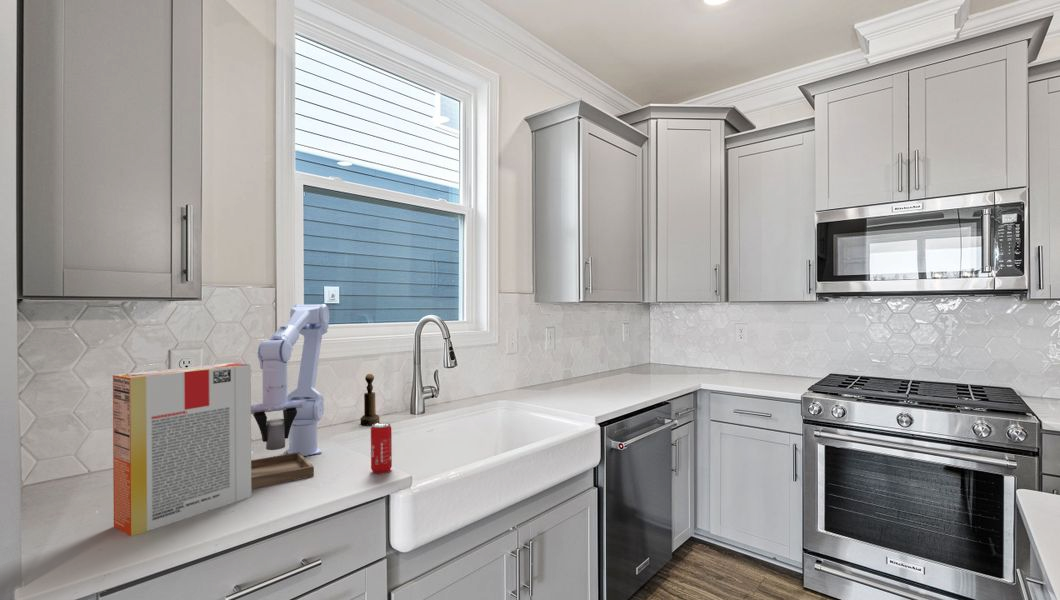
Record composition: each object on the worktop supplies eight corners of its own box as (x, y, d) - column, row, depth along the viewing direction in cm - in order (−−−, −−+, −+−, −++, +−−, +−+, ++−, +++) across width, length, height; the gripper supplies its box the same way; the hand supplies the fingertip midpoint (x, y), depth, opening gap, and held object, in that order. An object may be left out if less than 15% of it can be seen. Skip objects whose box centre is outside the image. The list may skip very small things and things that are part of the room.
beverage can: (385, 475, 130) (385, 427, 130) (367, 473, 131) (366, 427, 131) (395, 468, 135) (394, 423, 135) (377, 467, 136) (376, 422, 136)
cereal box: (232, 490, 121) (231, 362, 121) (251, 496, 116) (250, 364, 116) (113, 526, 101) (112, 375, 101) (131, 536, 97) (130, 377, 97)
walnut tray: (233, 472, 133) (232, 463, 133) (298, 460, 142) (298, 452, 142) (242, 490, 120) (242, 480, 120) (313, 476, 130) (313, 466, 130)
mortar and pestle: (372, 420, 190) (371, 372, 191) (383, 422, 187) (382, 373, 187) (356, 424, 185) (356, 374, 185) (367, 426, 181) (367, 375, 181)
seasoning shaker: (264, 447, 131) (263, 420, 132) (282, 444, 134) (282, 417, 134) (268, 451, 128) (268, 423, 128) (287, 447, 131) (287, 420, 131)
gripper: (245, 391, 124) (246, 447, 124) (308, 385, 133) (309, 437, 133) (241, 388, 130) (241, 441, 130) (302, 382, 138) (302, 432, 138)
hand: (275, 439), depth 131 cm, fingers closed on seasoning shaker, 4 cm apart
